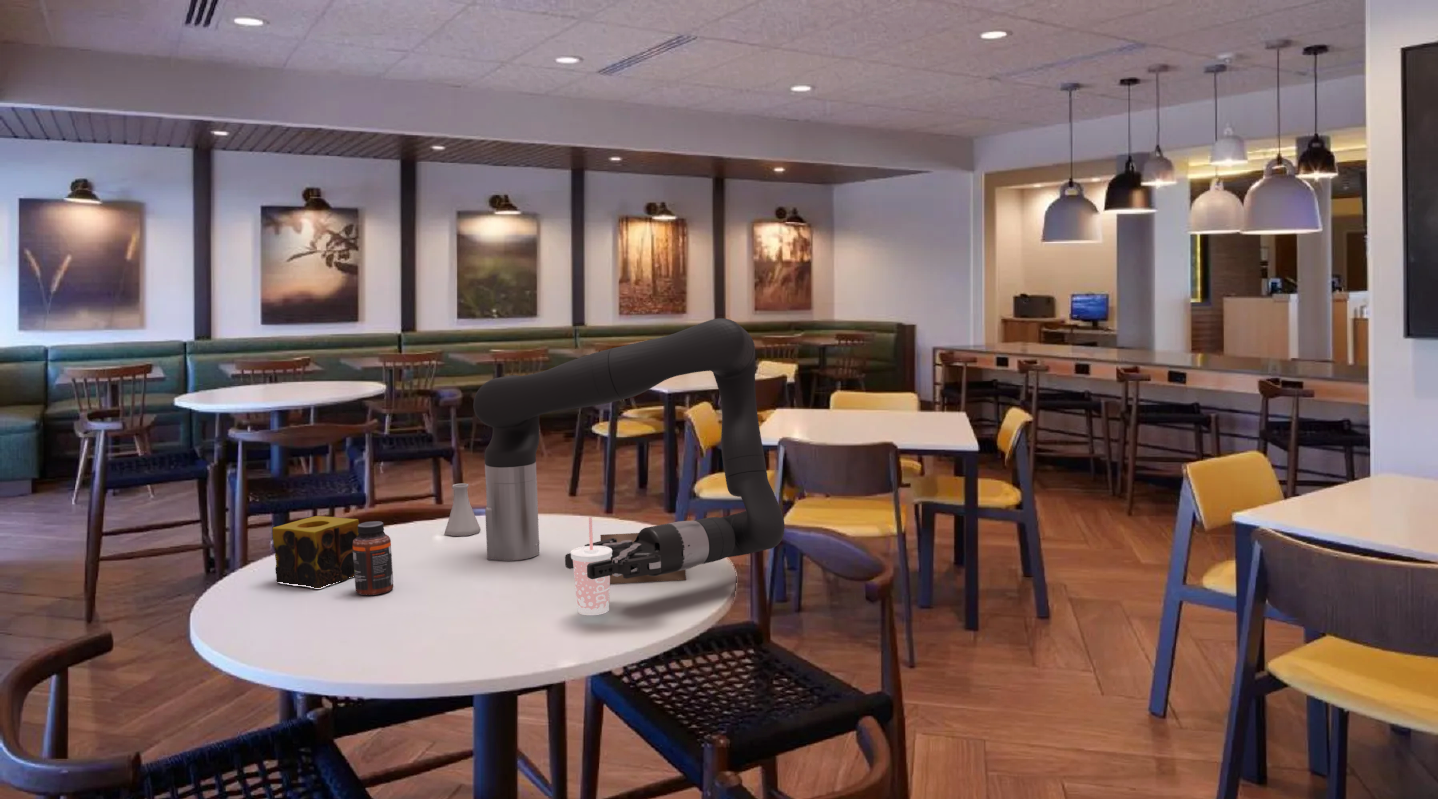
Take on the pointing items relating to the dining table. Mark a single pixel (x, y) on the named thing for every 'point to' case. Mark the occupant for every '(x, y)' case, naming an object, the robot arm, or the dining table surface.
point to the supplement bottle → (372, 559)
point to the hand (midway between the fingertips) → (577, 566)
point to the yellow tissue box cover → (315, 550)
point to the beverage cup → (591, 591)
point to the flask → (461, 514)
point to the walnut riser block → (646, 578)
